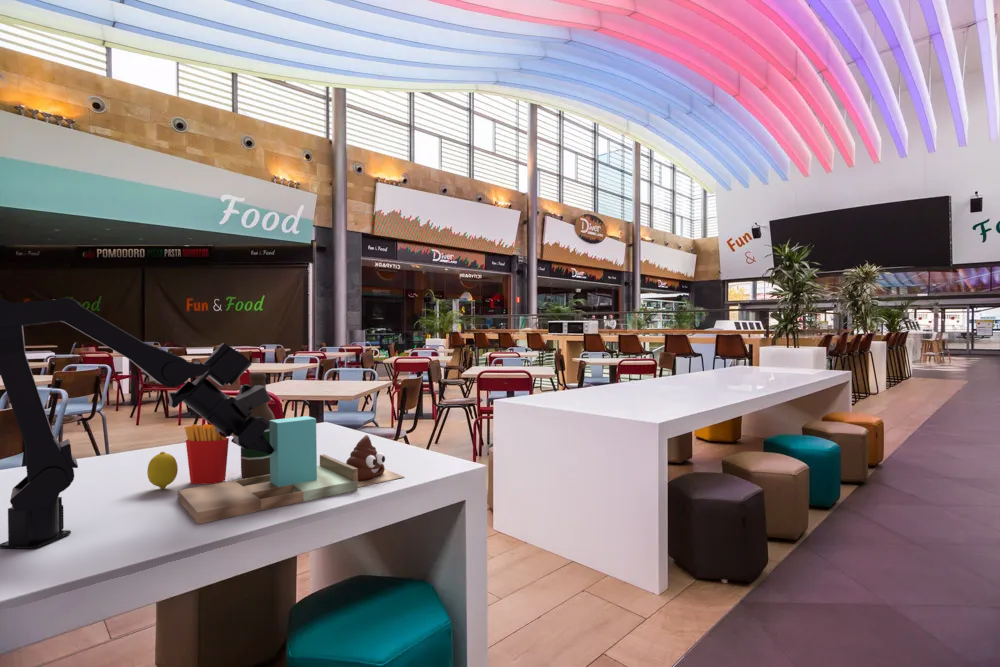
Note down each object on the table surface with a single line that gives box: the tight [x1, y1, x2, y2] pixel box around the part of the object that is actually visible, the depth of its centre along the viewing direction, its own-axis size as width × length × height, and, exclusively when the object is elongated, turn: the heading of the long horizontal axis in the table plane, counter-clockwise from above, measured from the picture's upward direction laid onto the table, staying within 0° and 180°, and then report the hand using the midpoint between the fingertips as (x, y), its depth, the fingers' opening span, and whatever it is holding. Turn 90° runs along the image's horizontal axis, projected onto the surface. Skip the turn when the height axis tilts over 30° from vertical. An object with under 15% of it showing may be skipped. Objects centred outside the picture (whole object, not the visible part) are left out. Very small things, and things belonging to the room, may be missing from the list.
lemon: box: [147, 451, 179, 490], centre depth 116 cm, size 6×6×8 cm
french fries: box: [184, 423, 230, 485], centre depth 121 cm, size 9×4×13 cm, turn 90°
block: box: [270, 415, 318, 487], centre depth 113 cm, size 8×5×13 cm, turn 130°
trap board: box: [177, 454, 359, 525], centre depth 110 cm, size 30×18×4 cm, turn 130°
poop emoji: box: [345, 434, 386, 481], centre depth 123 cm, size 10×9×9 cm
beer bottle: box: [240, 372, 276, 479], centre depth 126 cm, size 8×8×24 cm
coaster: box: [358, 468, 405, 488], centre depth 123 cm, size 13×13×1 cm
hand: (272, 452), depth 111 cm, fingers closed
